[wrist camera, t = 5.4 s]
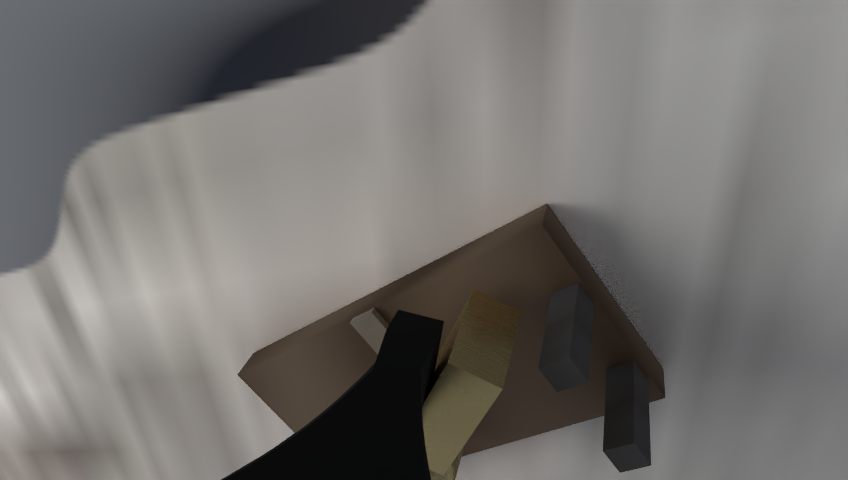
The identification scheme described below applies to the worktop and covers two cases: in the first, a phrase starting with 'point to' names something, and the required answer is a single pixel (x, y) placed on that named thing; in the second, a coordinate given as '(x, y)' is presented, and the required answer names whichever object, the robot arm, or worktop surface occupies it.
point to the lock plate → (531, 353)
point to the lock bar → (466, 379)
